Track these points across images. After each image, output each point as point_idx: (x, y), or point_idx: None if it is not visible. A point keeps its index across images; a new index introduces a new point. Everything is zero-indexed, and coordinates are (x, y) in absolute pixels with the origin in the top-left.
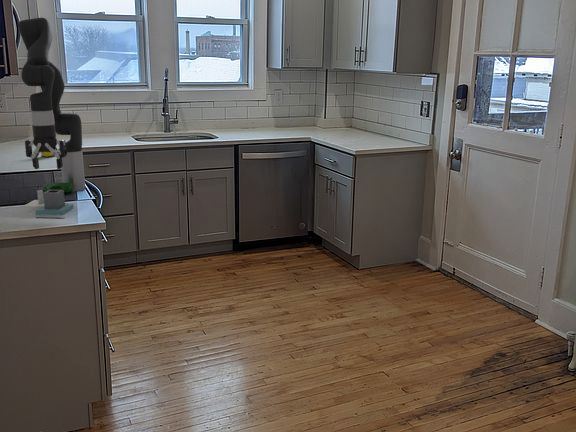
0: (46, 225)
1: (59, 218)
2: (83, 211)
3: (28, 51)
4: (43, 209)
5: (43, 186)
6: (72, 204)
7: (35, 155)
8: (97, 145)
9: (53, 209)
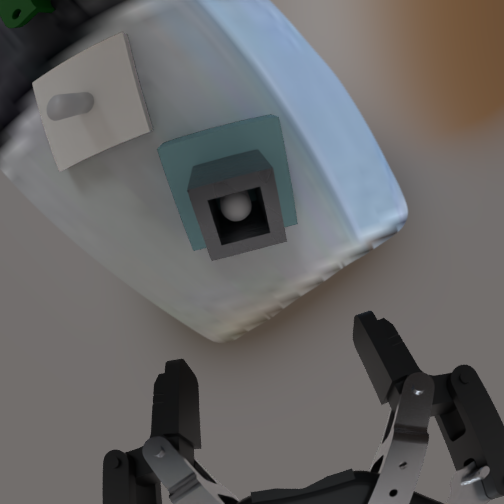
0: (279, 280)
1: None
2: (305, 101)
3: None
4: None
5: (4, 13)
6: (279, 124)
7: (209, 476)
8: None
9: None
